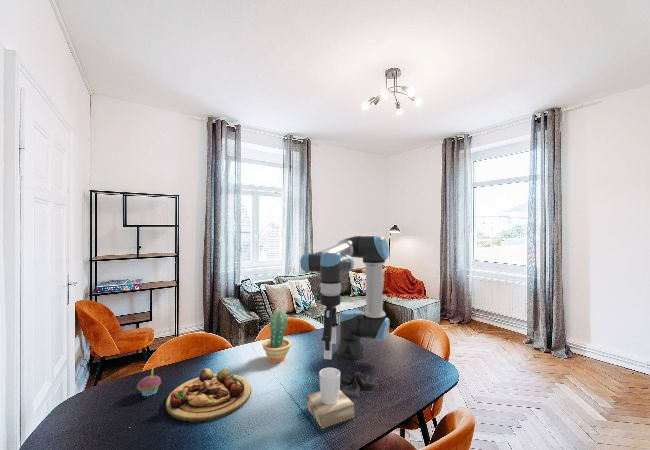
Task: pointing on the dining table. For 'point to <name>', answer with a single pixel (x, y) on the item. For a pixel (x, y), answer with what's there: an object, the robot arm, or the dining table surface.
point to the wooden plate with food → (208, 396)
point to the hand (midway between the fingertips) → (330, 350)
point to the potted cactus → (277, 338)
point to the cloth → (357, 384)
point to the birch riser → (330, 409)
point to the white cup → (329, 385)
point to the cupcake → (149, 384)
